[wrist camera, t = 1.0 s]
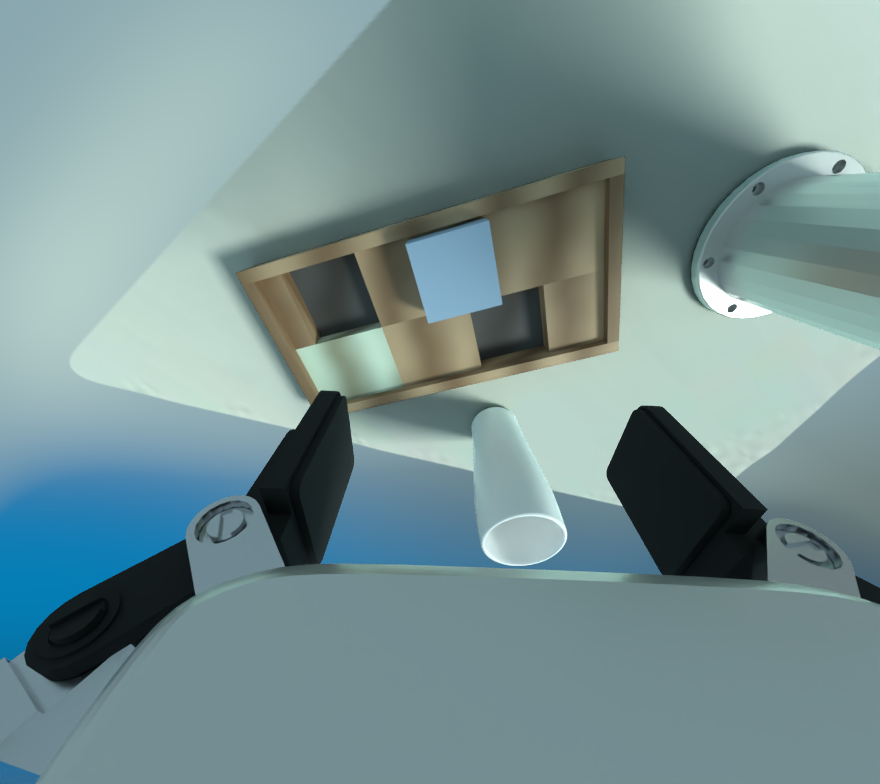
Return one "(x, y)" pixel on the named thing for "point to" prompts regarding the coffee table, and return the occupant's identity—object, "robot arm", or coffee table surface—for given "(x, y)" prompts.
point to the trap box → (466, 336)
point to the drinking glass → (512, 494)
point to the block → (455, 270)
